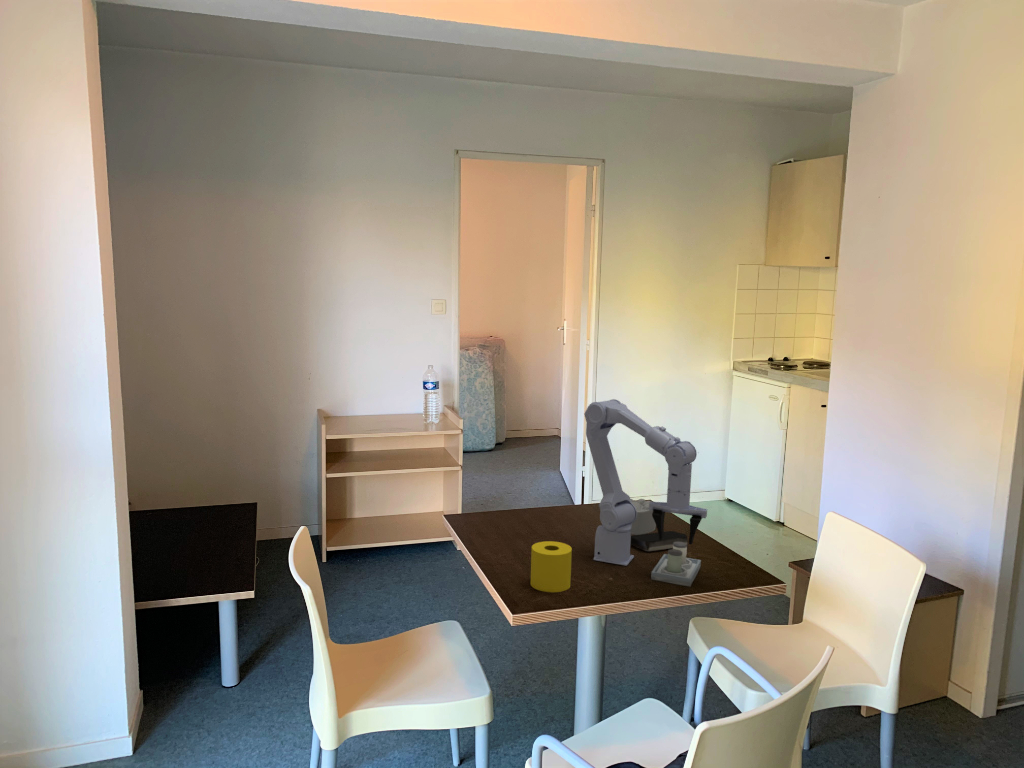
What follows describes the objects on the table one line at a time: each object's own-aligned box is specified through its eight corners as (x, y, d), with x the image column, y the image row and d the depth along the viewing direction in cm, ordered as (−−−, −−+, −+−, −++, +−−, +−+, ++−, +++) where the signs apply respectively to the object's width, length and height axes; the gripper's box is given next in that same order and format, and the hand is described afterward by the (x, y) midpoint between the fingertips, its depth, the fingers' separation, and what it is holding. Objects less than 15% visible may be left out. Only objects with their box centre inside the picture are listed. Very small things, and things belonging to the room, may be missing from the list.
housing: (651, 579, 193) (651, 571, 193) (663, 561, 207) (664, 553, 207) (690, 586, 189) (690, 578, 189) (700, 567, 203) (701, 559, 203)
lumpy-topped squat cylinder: (611, 527, 236) (612, 500, 235) (638, 520, 244) (639, 494, 243) (637, 536, 228) (638, 508, 227) (664, 528, 236) (665, 501, 235)
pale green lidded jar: (665, 574, 194) (666, 552, 193) (668, 570, 197) (670, 548, 196) (679, 577, 192) (680, 555, 192) (682, 572, 196) (683, 550, 195)
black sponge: (643, 555, 212) (644, 542, 212) (627, 545, 220) (627, 533, 219) (690, 548, 219) (691, 536, 218) (672, 539, 226) (673, 527, 226)
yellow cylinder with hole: (578, 587, 187) (579, 550, 186) (545, 595, 181) (547, 557, 180) (554, 574, 195) (556, 539, 194) (522, 581, 190) (523, 545, 189)
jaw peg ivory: (671, 566, 200) (672, 545, 199) (672, 562, 203) (674, 540, 203) (685, 568, 199) (686, 546, 198) (686, 564, 202) (687, 542, 202)
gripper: (647, 489, 191) (644, 540, 193) (705, 496, 186) (701, 549, 187) (653, 483, 198) (650, 533, 199) (709, 490, 192) (706, 541, 194)
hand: (675, 540), depth 194 cm, fingers open, 7 cm apart
